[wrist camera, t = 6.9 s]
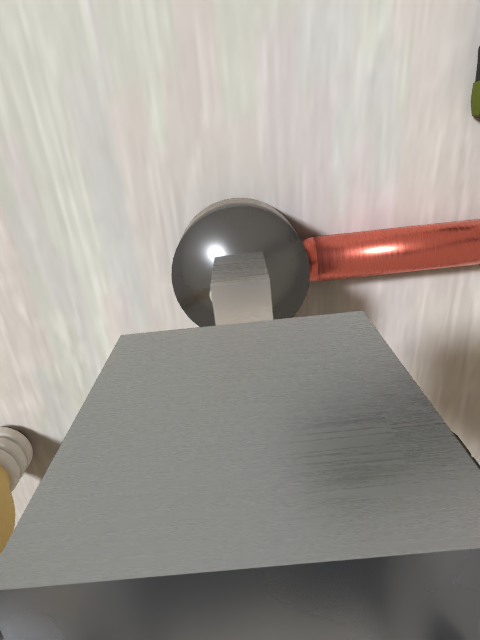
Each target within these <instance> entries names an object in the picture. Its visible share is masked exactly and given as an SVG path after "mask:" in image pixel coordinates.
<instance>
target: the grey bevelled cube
mask: <svg viewBox="0 0 480 640" xmlns="http://www.w3.org/2000/svg"><path fill="white" fill-rule="evenodd" d="M0 631H1V633H2V635H3V637H4V639H5V640H480V469H479V468H478V467H477V465H476V464H475V463H474V461H473V460H472V459H471V457H470V456H469V455H468V453H467V452H466V450H465V449H464V448H463V446H462V445H461V444H460V442H459V441H458V440H457V438H456V437H455V435H454V434H453V433H452V431H451V430H450V429H449V427H448V426H447V425H446V423H445V422H444V420H443V419H442V418H441V416H440V415H439V414H438V412H437V411H436V410H435V408H434V407H433V406H432V404H431V403H430V401H429V400H428V399H427V397H426V396H425V395H424V393H423V392H422V391H421V389H420V388H419V386H418V385H417V384H416V382H415V381H414V380H413V378H412V377H411V376H410V374H409V373H408V371H407V370H406V369H405V367H404V366H403V365H402V363H401V362H400V361H399V359H398V358H397V357H396V355H395V354H394V352H393V351H392V350H391V348H390V347H389V346H388V344H387V343H386V342H385V340H384V339H383V337H382V336H381V335H380V333H379V332H378V331H377V329H376V328H375V327H374V325H373V324H372V322H371V321H370V320H369V318H368V317H367V316H366V314H365V313H364V312H363V311H354V312H344V313H334V314H324V315H315V316H305V317H295V318H285V319H275V320H266V321H256V322H246V323H236V324H226V325H217V326H207V327H197V328H187V329H178V330H168V331H158V332H148V333H138V334H129V335H121V336H120V338H119V340H118V342H117V343H116V345H115V347H114V349H113V351H112V353H111V354H110V356H109V358H108V360H107V362H106V363H105V365H104V367H103V369H102V371H101V373H100V374H99V376H98V378H97V380H96V382H95V384H94V385H93V387H92V389H91V391H90V393H89V394H88V396H87V398H86V400H85V402H84V404H83V405H82V407H81V409H80V411H79V413H78V415H77V416H76V418H75V420H74V422H73V424H72V425H71V427H70V429H69V431H68V433H67V435H66V436H65V438H64V440H63V442H62V444H61V446H60V447H59V449H58V451H57V453H56V455H55V456H54V458H53V460H52V462H51V464H50V466H49V467H48V469H47V471H46V473H45V475H44V477H43V478H42V480H41V482H40V484H39V486H38V487H37V489H36V491H35V493H34V495H33V497H32V498H31V500H30V502H29V504H28V506H27V508H26V509H25V511H24V513H23V515H22V517H21V518H20V520H19V522H18V524H17V526H16V528H15V529H14V531H13V533H12V535H11V537H10V539H9V540H8V542H7V544H6V546H5V548H4V549H3V551H2V553H1V555H0Z"/></svg>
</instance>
